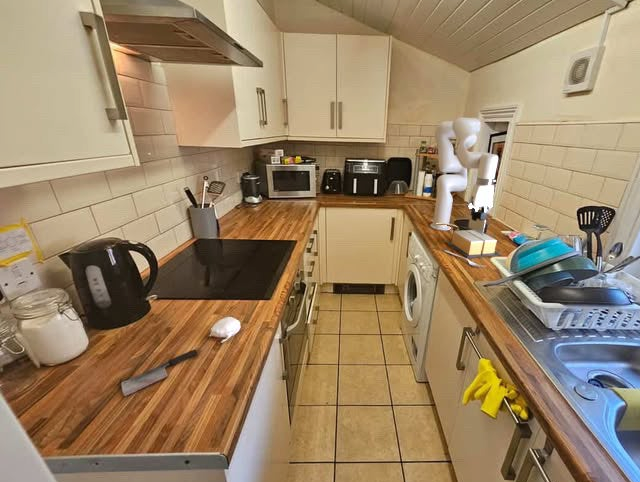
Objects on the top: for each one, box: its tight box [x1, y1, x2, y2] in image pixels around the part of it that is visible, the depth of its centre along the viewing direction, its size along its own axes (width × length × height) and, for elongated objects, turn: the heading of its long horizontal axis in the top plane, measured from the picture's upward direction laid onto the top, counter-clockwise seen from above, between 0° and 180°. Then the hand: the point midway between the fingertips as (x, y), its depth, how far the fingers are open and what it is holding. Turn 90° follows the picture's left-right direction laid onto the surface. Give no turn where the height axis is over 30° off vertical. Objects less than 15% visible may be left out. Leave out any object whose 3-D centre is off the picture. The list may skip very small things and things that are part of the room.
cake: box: [445, 229, 501, 259], centre depth 151 cm, size 20×18×7 cm
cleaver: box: [120, 348, 198, 397], centre depth 72 cm, size 16×1×5 cm
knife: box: [468, 209, 488, 235], centre depth 146 cm, size 12×3×10 cm, turn 14°
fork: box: [443, 249, 487, 268], centre depth 139 cm, size 3×24×2 cm, turn 30°
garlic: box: [208, 316, 241, 343], centre depth 86 cm, size 8×7×4 cm
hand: (477, 219), depth 146 cm, fingers closed on knife, 3 cm apart
